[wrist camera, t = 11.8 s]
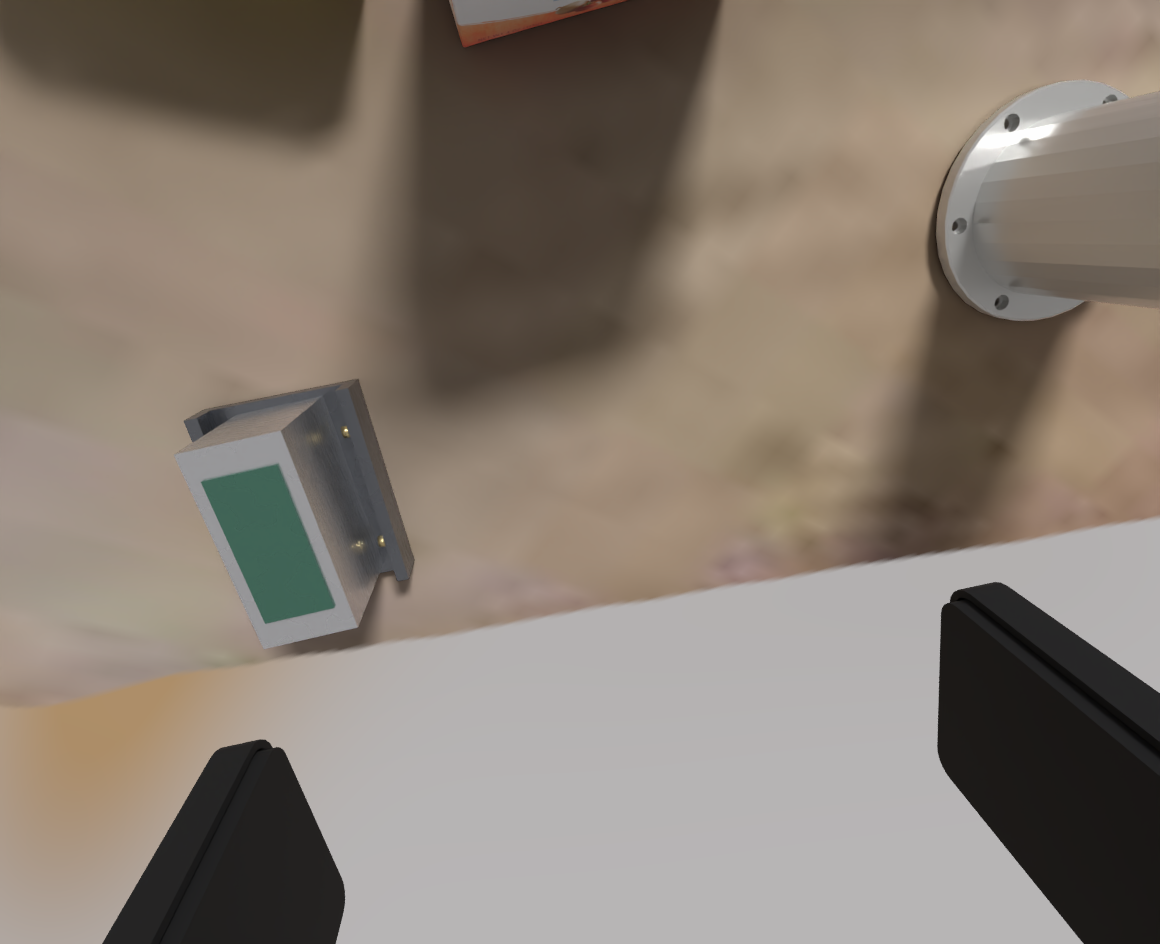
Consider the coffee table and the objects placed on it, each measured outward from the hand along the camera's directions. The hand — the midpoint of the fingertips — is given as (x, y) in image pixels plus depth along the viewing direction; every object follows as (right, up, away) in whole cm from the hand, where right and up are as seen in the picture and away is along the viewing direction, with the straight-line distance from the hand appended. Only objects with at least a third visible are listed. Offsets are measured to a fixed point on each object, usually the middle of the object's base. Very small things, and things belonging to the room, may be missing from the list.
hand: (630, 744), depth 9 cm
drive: (-17, +3, +29) cm, 33 cm away
